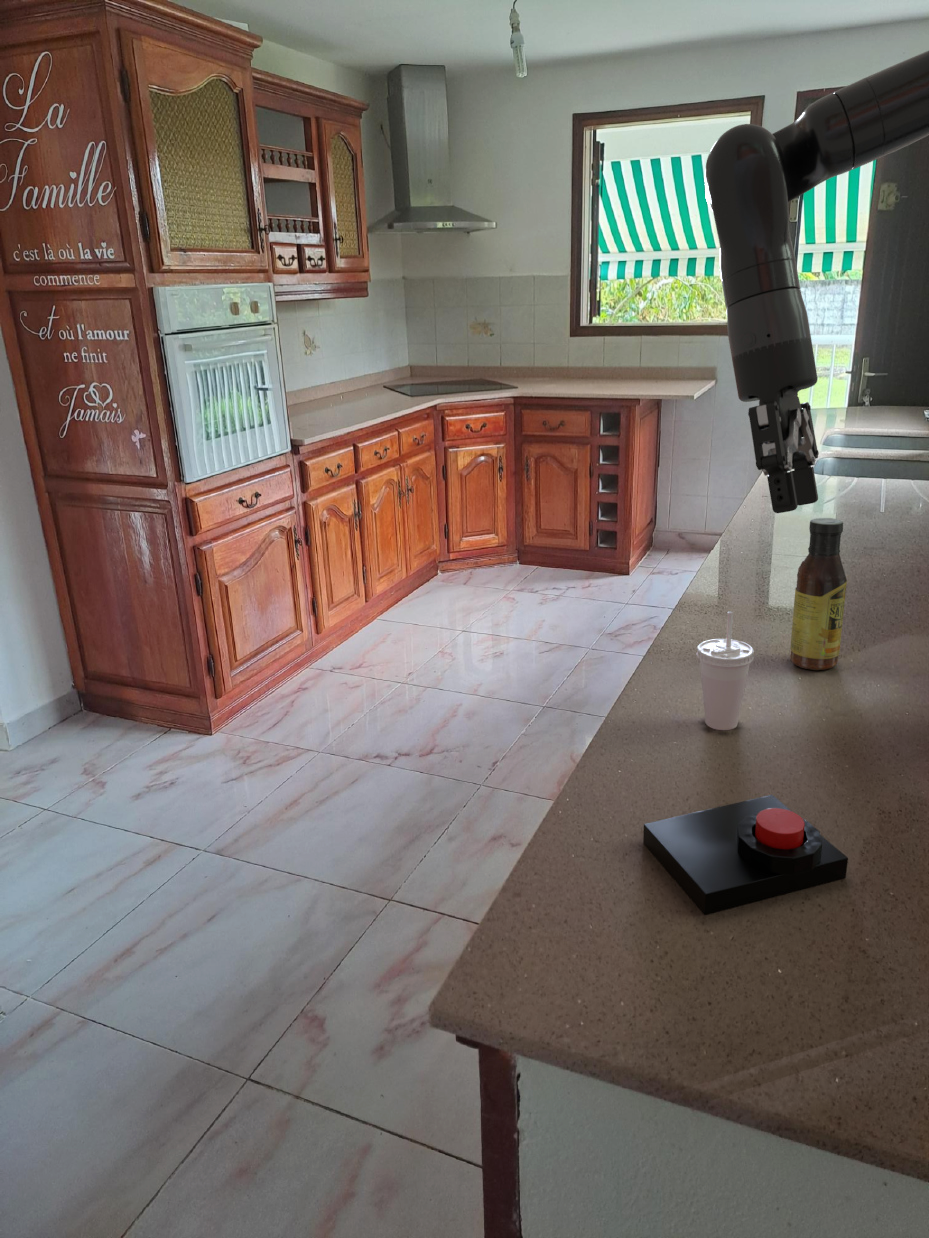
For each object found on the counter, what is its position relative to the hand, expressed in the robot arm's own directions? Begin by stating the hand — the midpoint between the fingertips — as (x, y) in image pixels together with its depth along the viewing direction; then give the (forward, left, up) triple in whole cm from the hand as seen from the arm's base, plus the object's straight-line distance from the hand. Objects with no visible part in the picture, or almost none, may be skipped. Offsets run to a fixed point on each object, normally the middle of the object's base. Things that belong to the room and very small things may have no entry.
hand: (797, 507), depth 89 cm
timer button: (+6, +22, -24) cm, 33 cm away
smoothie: (+5, -7, -28) cm, 29 cm away
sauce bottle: (-11, -24, -28) cm, 39 cm away
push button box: (+9, +20, -28) cm, 35 cm away
